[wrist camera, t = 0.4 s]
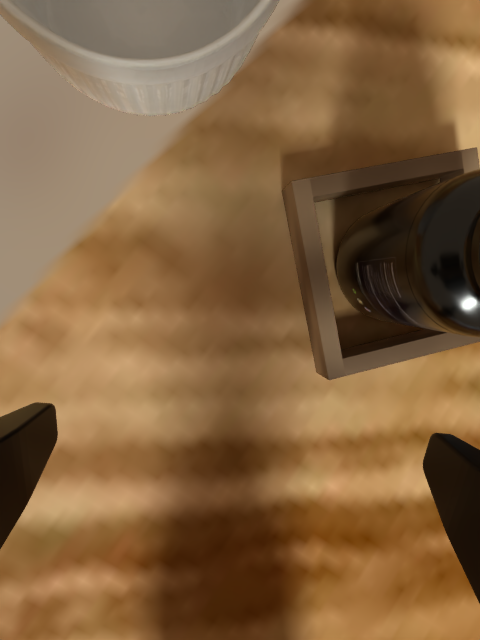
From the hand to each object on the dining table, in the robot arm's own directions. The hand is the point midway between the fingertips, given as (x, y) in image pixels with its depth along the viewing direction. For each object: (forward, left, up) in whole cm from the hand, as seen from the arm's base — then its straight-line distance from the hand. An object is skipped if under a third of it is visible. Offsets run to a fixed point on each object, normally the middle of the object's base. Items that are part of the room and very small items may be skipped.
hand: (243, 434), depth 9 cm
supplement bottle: (+2, -12, -14) cm, 18 cm away
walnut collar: (+2, -12, -13) cm, 18 cm away
